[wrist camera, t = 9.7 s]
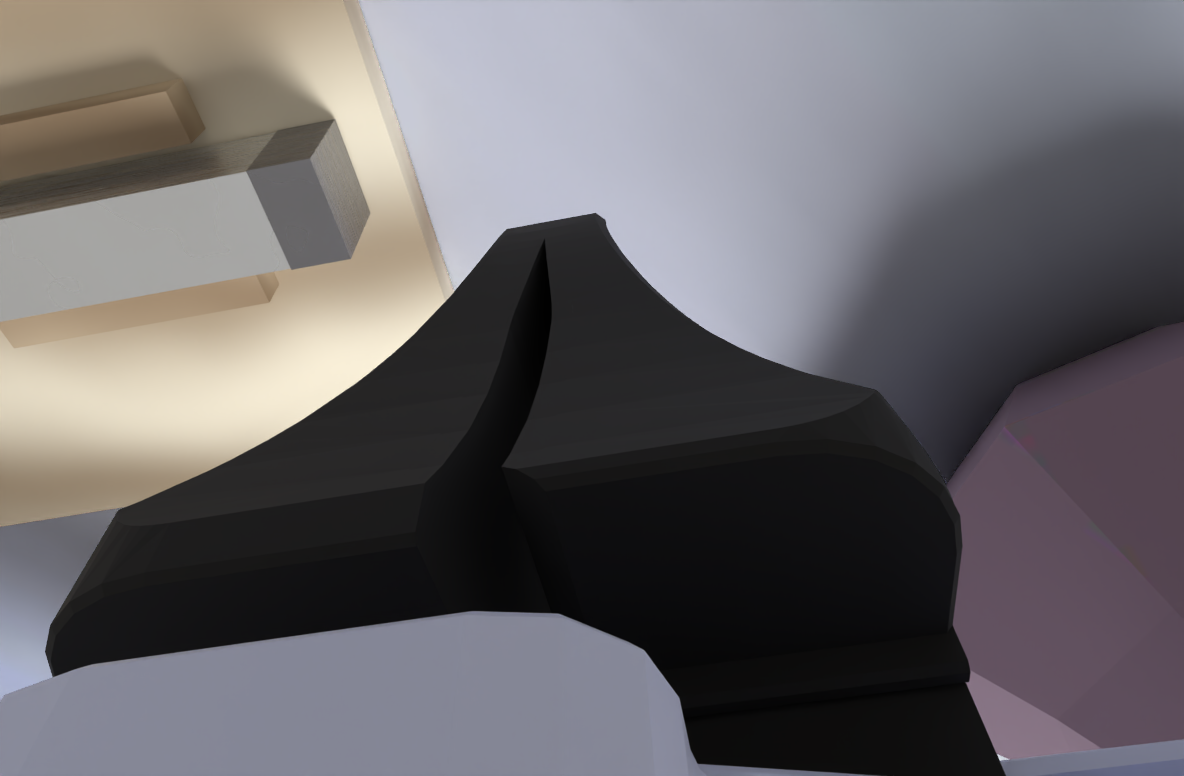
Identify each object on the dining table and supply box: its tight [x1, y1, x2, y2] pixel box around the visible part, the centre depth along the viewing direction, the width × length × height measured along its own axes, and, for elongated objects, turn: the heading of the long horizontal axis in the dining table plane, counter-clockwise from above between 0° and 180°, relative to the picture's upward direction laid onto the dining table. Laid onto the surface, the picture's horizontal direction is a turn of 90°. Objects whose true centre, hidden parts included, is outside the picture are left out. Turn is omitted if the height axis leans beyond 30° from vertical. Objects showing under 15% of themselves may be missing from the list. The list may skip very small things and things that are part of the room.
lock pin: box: [0, 119, 370, 322], centre depth 17 cm, size 2×11×2 cm, turn 101°
